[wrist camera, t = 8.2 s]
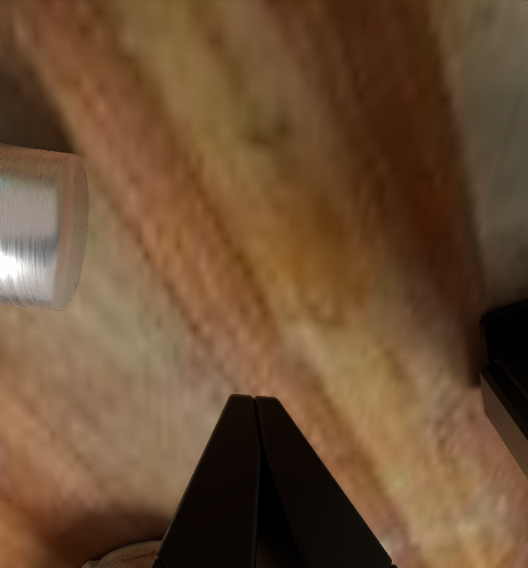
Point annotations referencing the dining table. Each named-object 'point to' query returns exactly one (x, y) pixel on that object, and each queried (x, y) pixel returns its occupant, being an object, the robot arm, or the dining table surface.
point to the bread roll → (128, 556)
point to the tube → (41, 226)
